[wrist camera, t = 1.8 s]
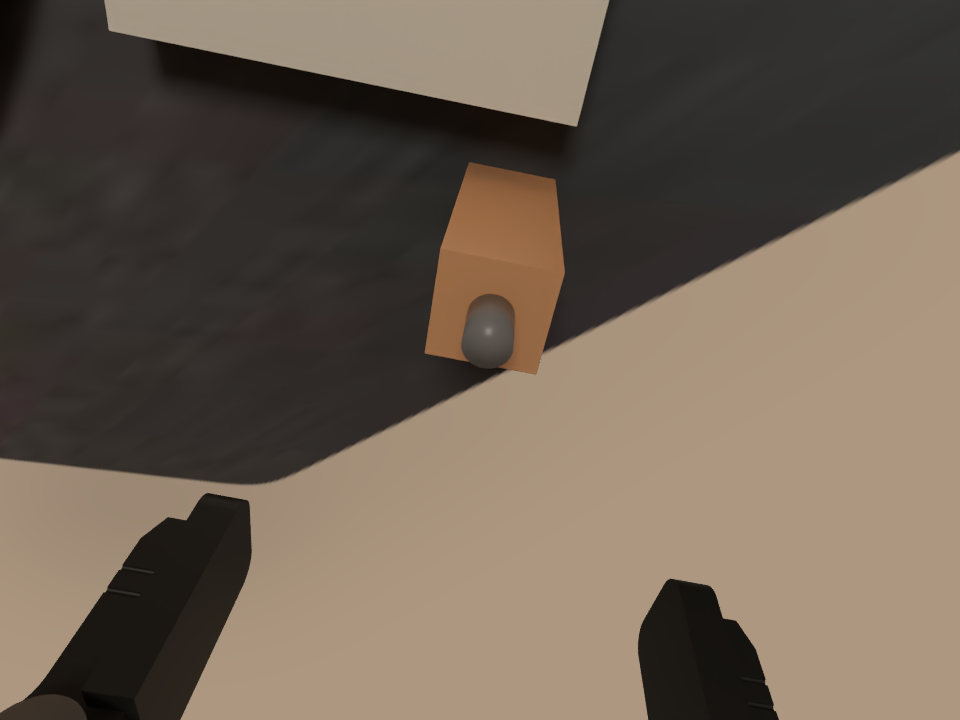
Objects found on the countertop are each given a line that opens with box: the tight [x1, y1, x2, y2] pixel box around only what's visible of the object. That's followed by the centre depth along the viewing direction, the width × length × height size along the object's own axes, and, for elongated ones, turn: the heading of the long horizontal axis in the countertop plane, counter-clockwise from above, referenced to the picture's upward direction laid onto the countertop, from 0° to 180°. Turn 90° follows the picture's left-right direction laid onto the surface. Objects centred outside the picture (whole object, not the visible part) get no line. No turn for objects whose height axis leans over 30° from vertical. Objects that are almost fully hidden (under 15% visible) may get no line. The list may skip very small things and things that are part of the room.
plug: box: [425, 162, 565, 374], centre depth 23 cm, size 4×4×12 cm
